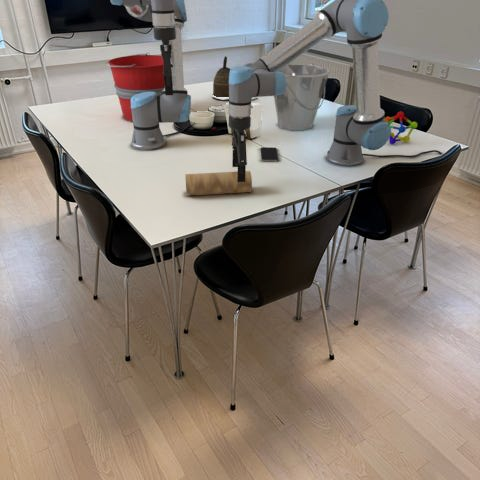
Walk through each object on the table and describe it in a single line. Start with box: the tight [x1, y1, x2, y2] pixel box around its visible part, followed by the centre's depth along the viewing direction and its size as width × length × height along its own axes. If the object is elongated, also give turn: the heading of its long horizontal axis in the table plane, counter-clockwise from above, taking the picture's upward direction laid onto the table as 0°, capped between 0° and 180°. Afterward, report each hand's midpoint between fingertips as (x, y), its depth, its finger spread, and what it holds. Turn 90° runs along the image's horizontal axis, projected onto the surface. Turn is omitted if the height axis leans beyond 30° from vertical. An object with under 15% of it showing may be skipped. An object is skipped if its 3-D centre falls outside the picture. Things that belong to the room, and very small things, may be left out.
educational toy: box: [385, 110, 418, 145], centre depth 207 cm, size 16×13×15 cm
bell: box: [212, 56, 231, 97], centre depth 278 cm, size 19×26×20 cm
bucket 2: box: [273, 63, 330, 131], centre depth 226 cm, size 30×30×28 cm
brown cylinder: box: [184, 170, 253, 197], centre depth 162 cm, size 24×8×8 cm, turn 98°
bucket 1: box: [105, 52, 165, 123], centre depth 239 cm, size 35×35×30 cm
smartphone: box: [260, 146, 279, 162], centre depth 196 cm, size 7×1×15 cm
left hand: (169, 90), depth 163 cm, fingers open, 13 cm apart
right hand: (238, 173), depth 161 cm, fingers open, 13 cm apart
